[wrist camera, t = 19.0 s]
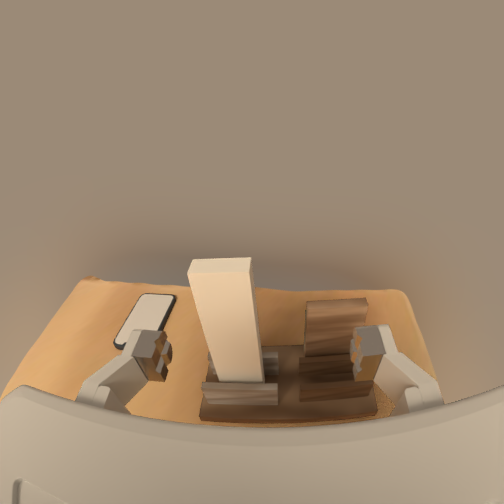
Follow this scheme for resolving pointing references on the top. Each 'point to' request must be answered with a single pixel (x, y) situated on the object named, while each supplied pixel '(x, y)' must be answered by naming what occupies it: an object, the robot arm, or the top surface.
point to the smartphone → (146, 316)
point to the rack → (290, 391)
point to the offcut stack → (332, 325)
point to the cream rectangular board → (229, 317)
